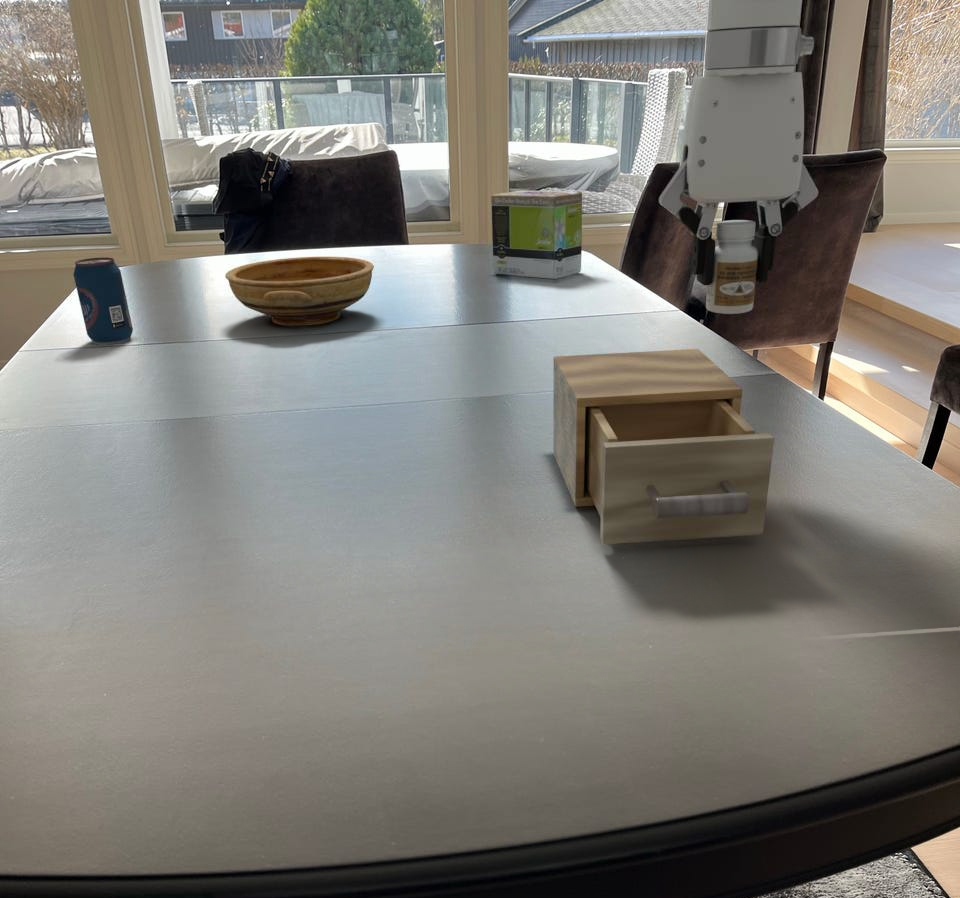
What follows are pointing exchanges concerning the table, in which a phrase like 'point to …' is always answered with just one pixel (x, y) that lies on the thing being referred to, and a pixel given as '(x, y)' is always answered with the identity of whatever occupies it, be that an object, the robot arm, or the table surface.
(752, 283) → the pill bottle
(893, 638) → the table surface
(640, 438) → the drawer
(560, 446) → the cabinet
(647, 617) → the table surface
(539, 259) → the tea box
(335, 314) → the ceramic bowl
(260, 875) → the table surface
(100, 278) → the soda can
